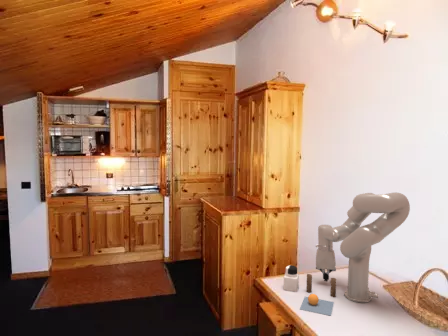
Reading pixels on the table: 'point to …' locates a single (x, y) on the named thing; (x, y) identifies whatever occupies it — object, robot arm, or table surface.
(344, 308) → the table surface
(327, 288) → the table surface
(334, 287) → the post
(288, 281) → the medicine bottle
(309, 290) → the post
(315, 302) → the ball
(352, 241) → the robot arm
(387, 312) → the table surface
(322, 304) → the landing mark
